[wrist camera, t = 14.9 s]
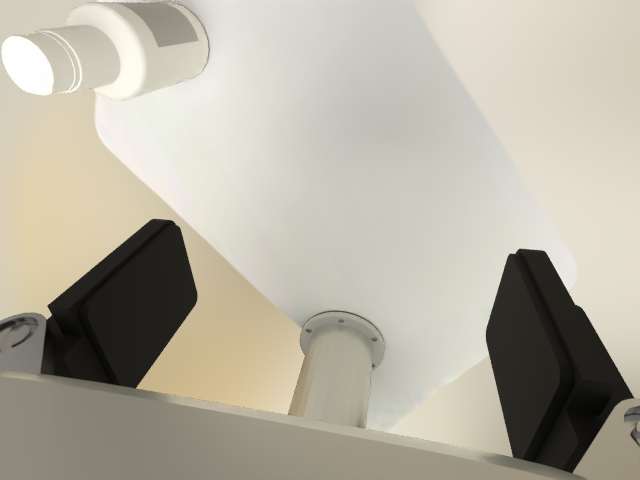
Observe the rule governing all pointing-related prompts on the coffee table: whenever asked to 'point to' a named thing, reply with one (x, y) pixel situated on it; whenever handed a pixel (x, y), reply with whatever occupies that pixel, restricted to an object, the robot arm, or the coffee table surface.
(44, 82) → the spray bottle
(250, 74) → the coffee table surface
